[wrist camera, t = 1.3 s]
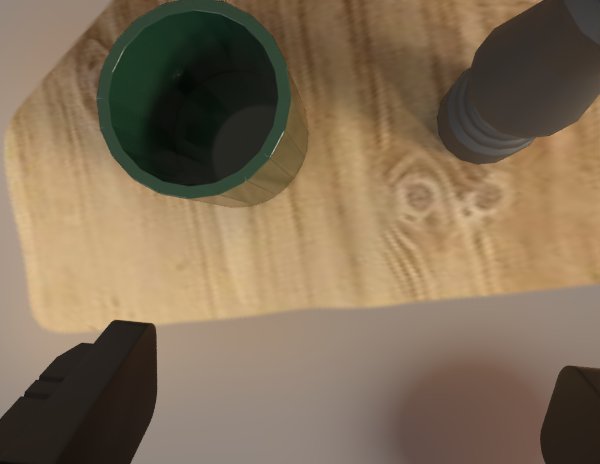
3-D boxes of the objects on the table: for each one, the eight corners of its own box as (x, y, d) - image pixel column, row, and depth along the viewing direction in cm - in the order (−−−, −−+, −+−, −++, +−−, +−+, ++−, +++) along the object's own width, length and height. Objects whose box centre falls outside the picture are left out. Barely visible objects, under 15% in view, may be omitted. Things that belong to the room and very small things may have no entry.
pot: (209, 40, 35) (153, -35, 25) (334, 104, 34) (326, 52, 24) (144, 166, 36) (64, 140, 26) (265, 233, 35) (229, 233, 25)
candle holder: (476, 182, 33) (847, 35, 8) (418, 116, 33) (604, -217, 9) (548, 124, 32) (1181, -225, 8) (488, 57, 33) (903, -479, 8)
